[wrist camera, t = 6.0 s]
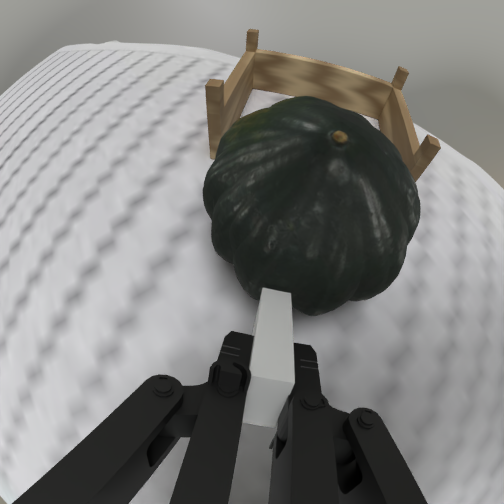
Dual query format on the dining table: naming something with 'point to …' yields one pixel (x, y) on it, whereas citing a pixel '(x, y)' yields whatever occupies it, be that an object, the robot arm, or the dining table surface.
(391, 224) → the squash
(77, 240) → the dining table surface
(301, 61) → the rack
